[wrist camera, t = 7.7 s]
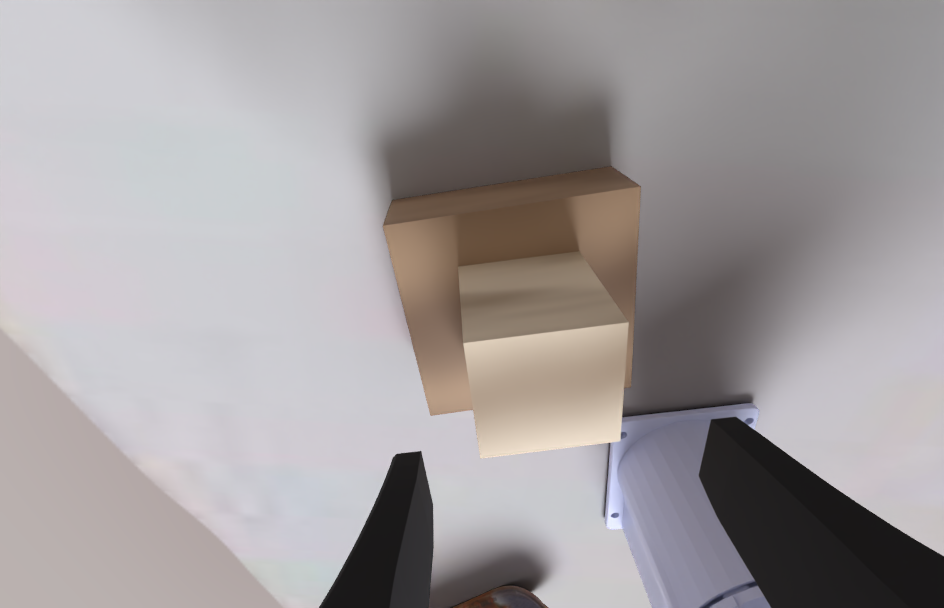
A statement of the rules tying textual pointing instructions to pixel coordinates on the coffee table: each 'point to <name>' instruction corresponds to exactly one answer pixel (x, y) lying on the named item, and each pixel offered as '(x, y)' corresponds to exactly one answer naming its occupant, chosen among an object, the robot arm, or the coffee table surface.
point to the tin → (504, 599)
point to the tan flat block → (504, 256)
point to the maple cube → (542, 354)
